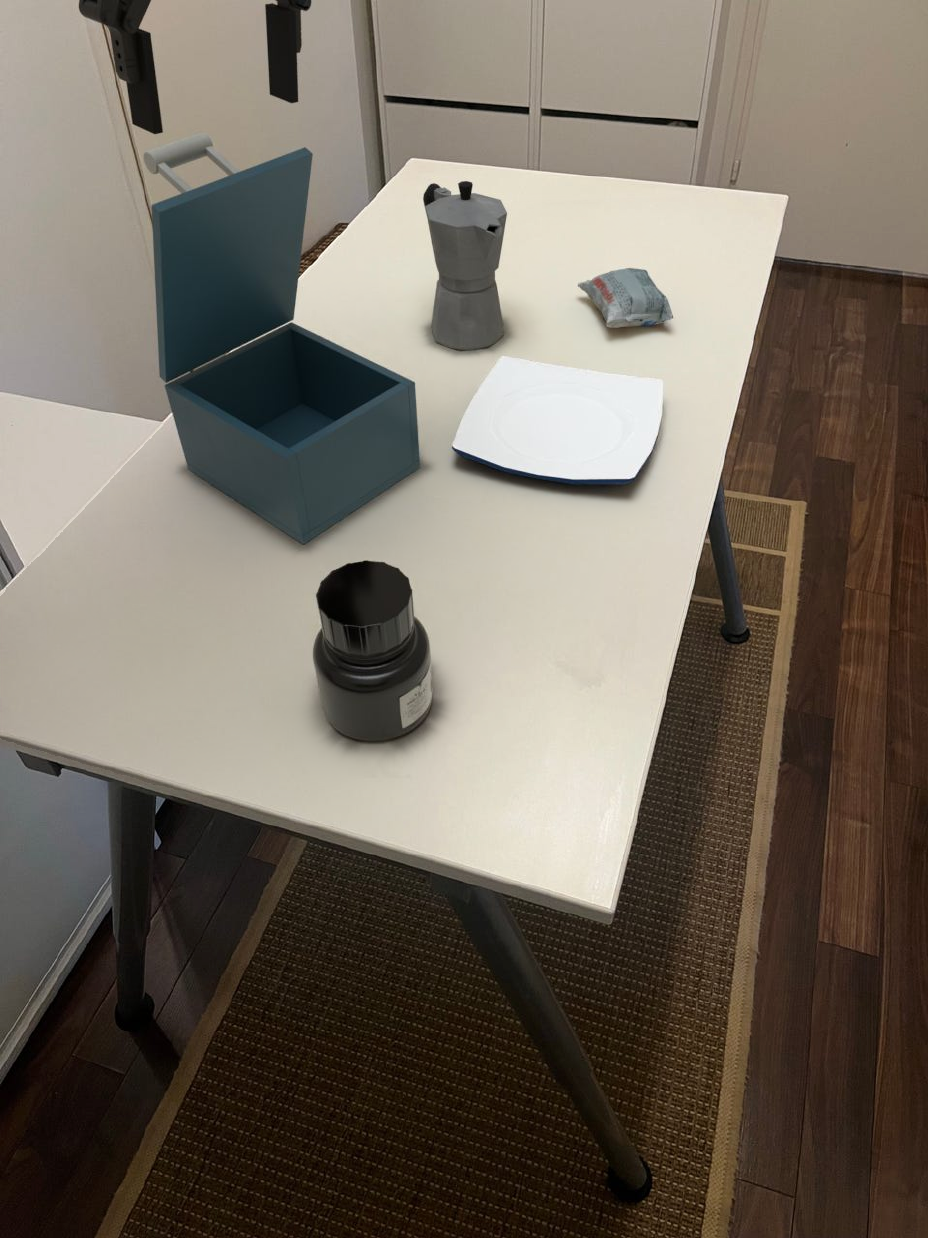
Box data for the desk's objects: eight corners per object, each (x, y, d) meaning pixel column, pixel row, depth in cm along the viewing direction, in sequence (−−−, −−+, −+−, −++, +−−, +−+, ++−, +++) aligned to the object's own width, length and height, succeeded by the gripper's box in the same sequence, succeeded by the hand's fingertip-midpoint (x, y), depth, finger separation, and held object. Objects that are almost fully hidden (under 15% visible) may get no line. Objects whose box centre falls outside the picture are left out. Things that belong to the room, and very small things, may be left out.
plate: (670, 397, 104) (674, 376, 102) (638, 508, 90) (641, 486, 88) (495, 370, 108) (496, 350, 106) (439, 472, 95) (439, 451, 93)
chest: (420, 467, 95) (415, 381, 88) (303, 545, 87) (287, 458, 80) (304, 404, 104) (291, 321, 97) (188, 469, 96) (164, 384, 89)
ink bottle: (440, 741, 71) (434, 635, 62) (324, 755, 70) (302, 650, 62) (426, 649, 78) (418, 541, 69) (320, 661, 77) (300, 553, 68)
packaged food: (604, 343, 112) (609, 304, 108) (575, 297, 120) (579, 260, 117) (672, 335, 113) (679, 297, 110) (639, 291, 121) (644, 254, 118)
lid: (313, 153, 80) (246, 95, 82) (159, 212, 72) (88, 146, 74) (293, 319, 96) (238, 268, 98) (166, 383, 88) (107, 325, 90)
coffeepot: (529, 343, 112) (535, 191, 99) (463, 366, 109) (461, 212, 96) (461, 293, 121) (459, 148, 108) (399, 313, 118) (388, 165, 105)
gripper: (44, -256, 50) (112, 158, 65) (368, -236, 65) (363, 98, 80) (-31, -272, 53) (51, 127, 68) (294, -249, 68) (303, 75, 83)
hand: (219, 112), depth 74 cm, fingers open, 13 cm apart
